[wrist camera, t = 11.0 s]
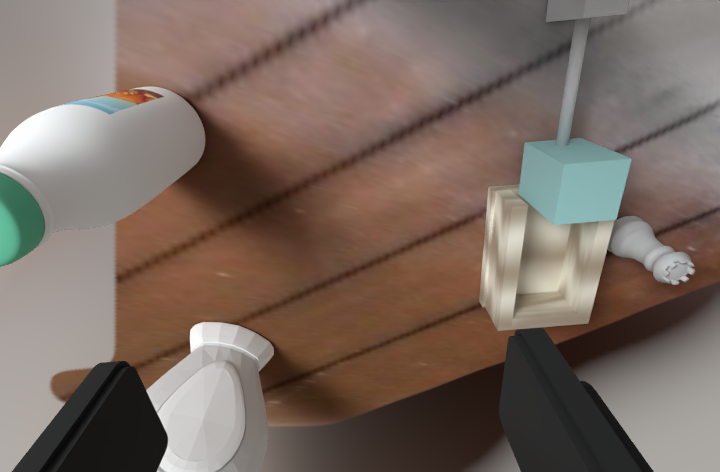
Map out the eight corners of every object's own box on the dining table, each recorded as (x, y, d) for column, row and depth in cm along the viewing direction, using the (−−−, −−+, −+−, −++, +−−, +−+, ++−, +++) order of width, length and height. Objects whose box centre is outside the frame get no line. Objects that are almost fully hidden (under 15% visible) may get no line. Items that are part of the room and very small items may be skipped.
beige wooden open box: (488, 186, 37) (508, 207, 33) (589, 178, 37) (623, 197, 33) (479, 300, 44) (494, 331, 39) (565, 293, 44) (591, 323, 39)
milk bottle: (213, 102, 33) (56, 170, 15) (202, 182, 36) (62, 315, 19) (121, 72, 32) (-169, 109, 14) (117, 158, 35) (-120, 276, 17)
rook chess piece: (593, 229, 40) (646, 270, 33) (634, 205, 39) (699, 241, 32) (609, 258, 42) (663, 302, 34) (649, 235, 40) (713, 276, 33)
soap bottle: (171, 354, 46) (14, 629, 24) (184, 307, 43) (17, 575, 21) (272, 381, 49) (212, 652, 27) (292, 339, 46) (241, 607, 24)
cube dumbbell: (538, -21, 29) (599, -42, 22) (602, -27, 29) (685, -50, 22) (514, 190, 37) (553, 225, 30) (564, 185, 37) (616, 219, 30)
